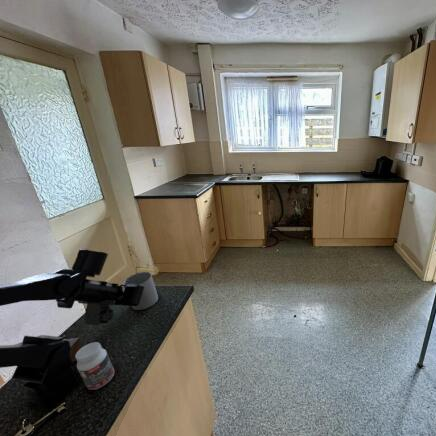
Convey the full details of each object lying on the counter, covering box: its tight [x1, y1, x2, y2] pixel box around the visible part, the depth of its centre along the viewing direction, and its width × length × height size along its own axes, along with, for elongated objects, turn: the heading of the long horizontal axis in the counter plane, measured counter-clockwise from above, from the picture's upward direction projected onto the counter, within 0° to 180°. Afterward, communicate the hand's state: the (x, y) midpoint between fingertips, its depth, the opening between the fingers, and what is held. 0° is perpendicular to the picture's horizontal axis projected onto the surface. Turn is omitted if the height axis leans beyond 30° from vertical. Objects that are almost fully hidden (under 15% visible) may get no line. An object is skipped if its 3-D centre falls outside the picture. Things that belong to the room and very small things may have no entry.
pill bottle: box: [75, 341, 115, 391], centre depth 58 cm, size 6×6×10 cm
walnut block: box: [63, 337, 84, 364], centre depth 65 cm, size 4×4×4 cm
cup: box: [123, 271, 159, 311], centre depth 84 cm, size 8×8×10 cm
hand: (131, 296), depth 79 cm, fingers closed
